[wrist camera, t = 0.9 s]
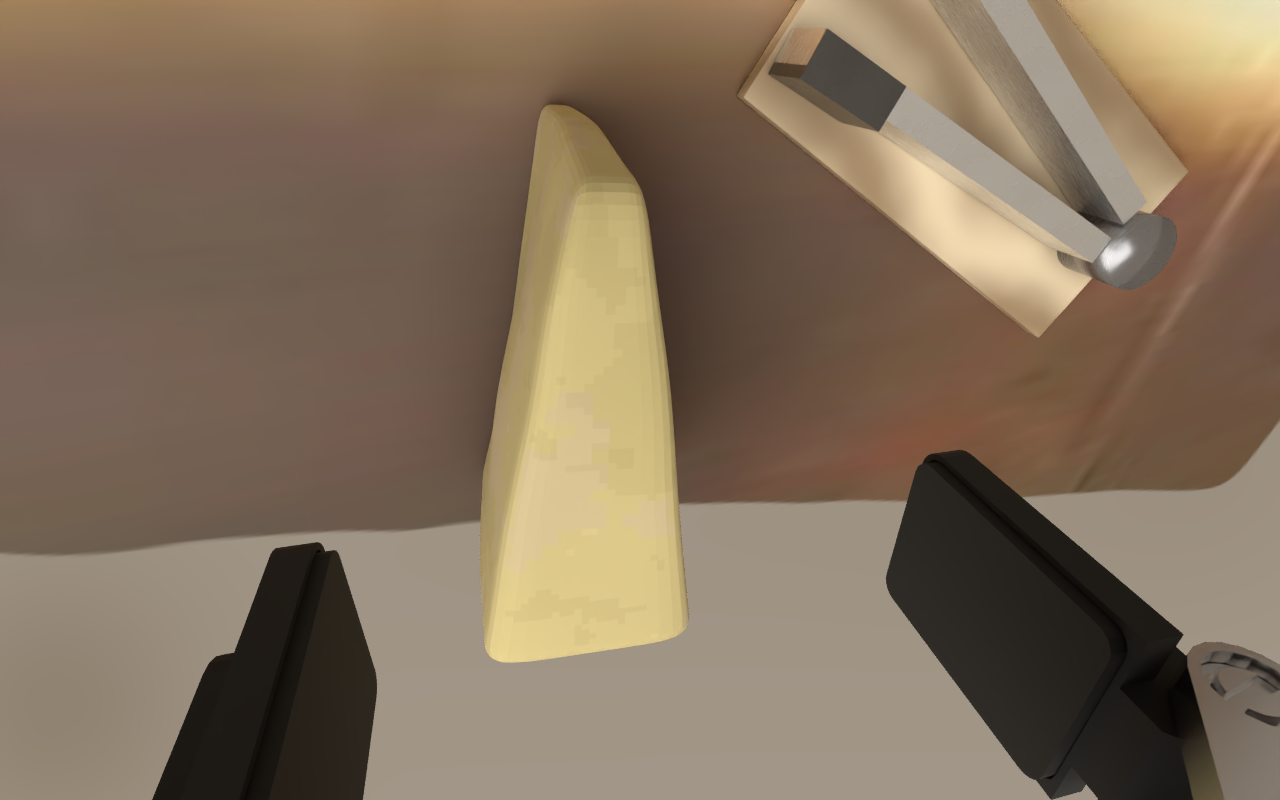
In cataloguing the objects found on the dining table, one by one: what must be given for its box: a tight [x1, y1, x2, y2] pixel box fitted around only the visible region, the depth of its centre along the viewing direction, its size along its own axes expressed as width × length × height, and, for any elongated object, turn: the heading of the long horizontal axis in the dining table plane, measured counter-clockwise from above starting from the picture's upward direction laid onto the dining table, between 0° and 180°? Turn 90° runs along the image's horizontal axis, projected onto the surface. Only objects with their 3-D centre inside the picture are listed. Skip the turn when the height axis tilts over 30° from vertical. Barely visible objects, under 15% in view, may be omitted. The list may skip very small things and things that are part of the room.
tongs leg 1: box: [768, 28, 1112, 263], centre depth 34 cm, size 22×2×4 cm, turn 62°
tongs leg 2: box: [930, 0, 1147, 225], centre depth 33 cm, size 22×2×4 cm, turn 50°
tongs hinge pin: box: [1057, 210, 1177, 290], centre depth 39 cm, size 4×4×4 cm
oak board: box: [736, 0, 1188, 338], centre depth 37 cm, size 13×28×1 cm, turn 56°
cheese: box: [480, 105, 689, 663], centre depth 30 cm, size 22×10×15 cm, turn 176°
